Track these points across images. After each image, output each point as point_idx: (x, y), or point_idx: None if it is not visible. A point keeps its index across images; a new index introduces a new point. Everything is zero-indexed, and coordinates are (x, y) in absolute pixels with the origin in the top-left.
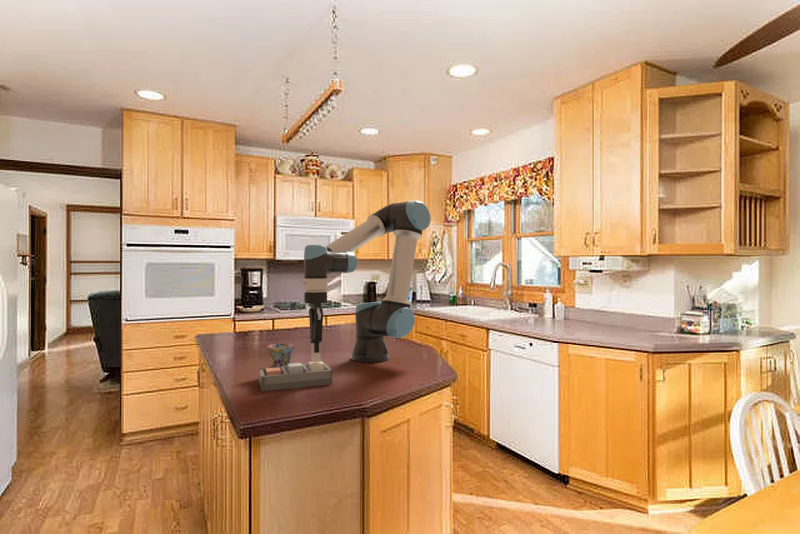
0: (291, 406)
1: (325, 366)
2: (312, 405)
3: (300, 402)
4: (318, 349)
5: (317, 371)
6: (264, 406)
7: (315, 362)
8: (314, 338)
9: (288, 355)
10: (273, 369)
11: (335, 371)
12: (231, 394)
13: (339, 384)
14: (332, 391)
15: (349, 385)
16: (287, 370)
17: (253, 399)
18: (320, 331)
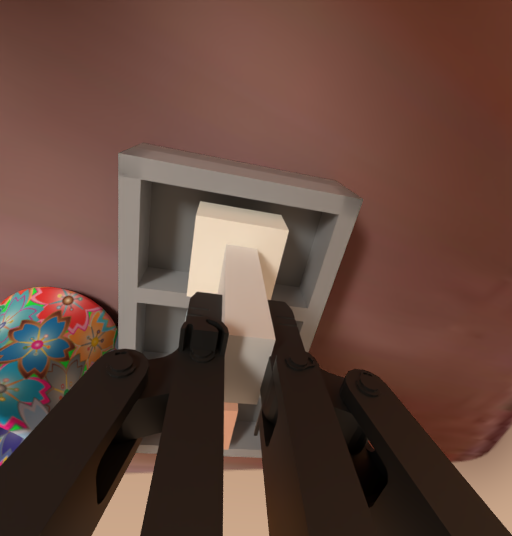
0: (461, 377)
1: (243, 196)
2: (505, 334)
3: (451, 352)
4: (293, 324)
5: (331, 279)
6: None
7: (220, 266)
8: (366, 466)
9: (52, 390)
10: None
11: (53, 19)
12: (244, 464)
13: (364, 151)
14: (435, 227)
15: (417, 112)
16: (139, 350)
17: None
18: (479, 531)
